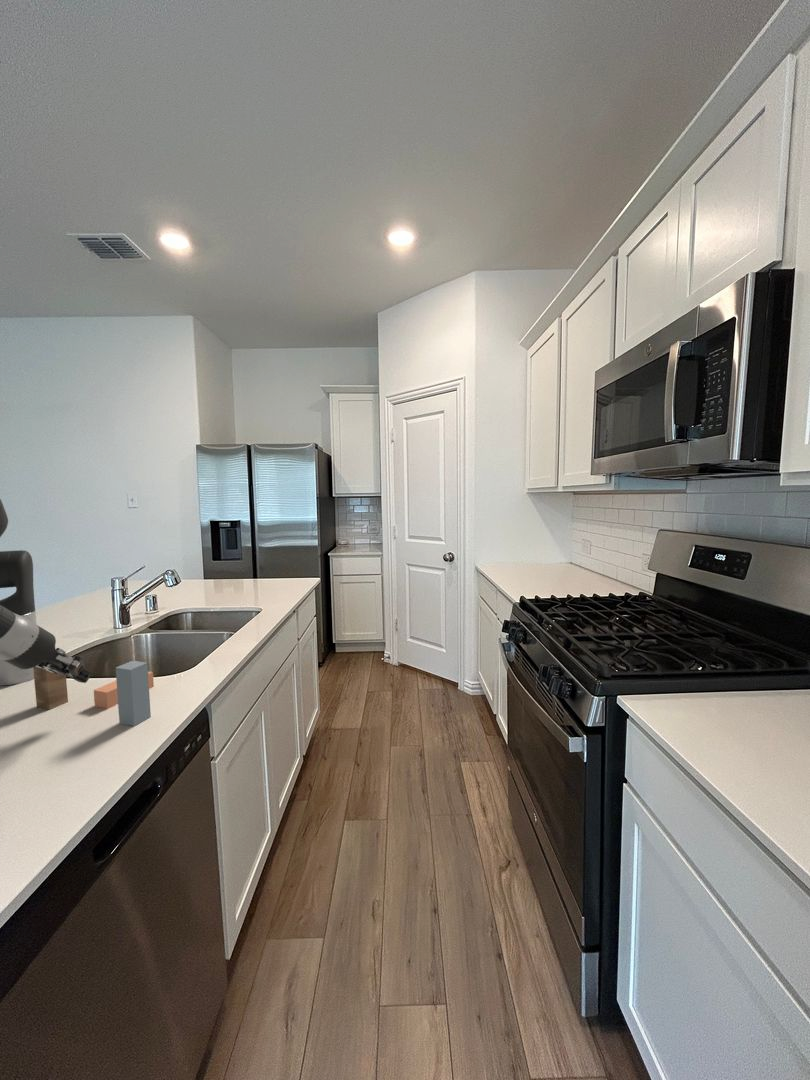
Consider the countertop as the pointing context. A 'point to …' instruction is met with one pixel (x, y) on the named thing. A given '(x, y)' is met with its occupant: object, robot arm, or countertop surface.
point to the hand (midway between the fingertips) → (86, 678)
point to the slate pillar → (133, 693)
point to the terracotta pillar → (112, 693)
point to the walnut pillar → (49, 688)
